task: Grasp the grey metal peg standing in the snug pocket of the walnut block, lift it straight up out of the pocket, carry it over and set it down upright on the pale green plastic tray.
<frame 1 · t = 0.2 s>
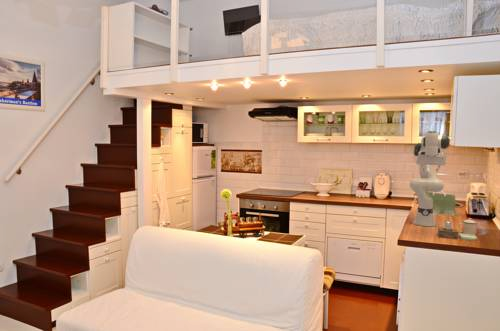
hand: (430, 171, 289), 47 cm above the countertop, fingers open, 8 cm apart
tray: (467, 238, 278), on the countertop
peg: (447, 228, 282), in the pocket block
pocket block: (447, 236, 283), on the countertop
teacup with lid: (467, 233, 294), on the countertop
grocery bag: (437, 213, 376), on the countertop
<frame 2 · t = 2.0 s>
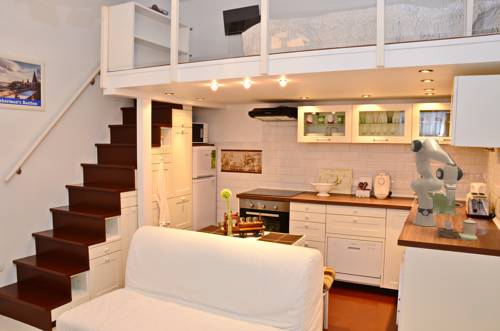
hand: (449, 204, 281), 24 cm above the countertop, fingers open, 8 cm apart
nothing on the countertop moved.
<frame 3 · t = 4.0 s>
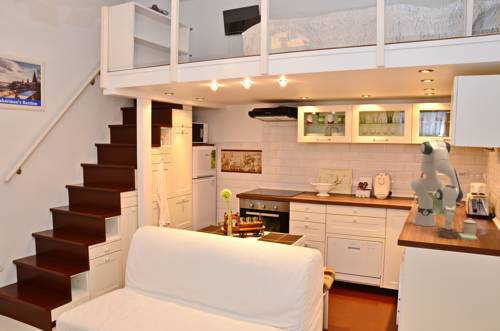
hand: (448, 226, 282), 8 cm above the countertop, fingers closed on peg, 4 cm apart
peg: (448, 228, 282), in the pocket block, touching gripper
everything else where it was.
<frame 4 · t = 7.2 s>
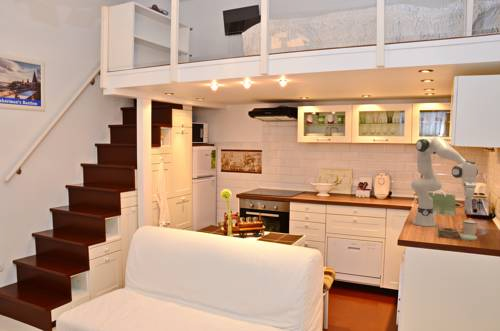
hand: (468, 203, 276), 26 cm above the countertop, fingers closed on peg, 4 cm apart
peg: (468, 205, 276), point 24 cm above the countertop, touching gripper
everything else where it was.
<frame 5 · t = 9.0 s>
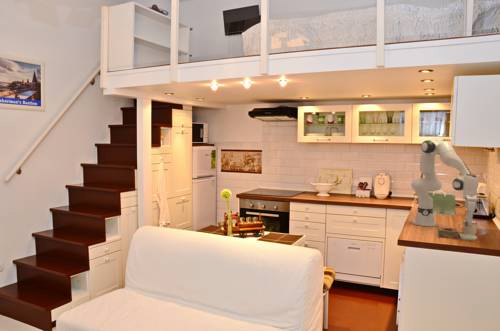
hand: (469, 215, 277), 16 cm above the countertop, fingers closed on peg, 4 cm apart
peg: (468, 218, 277), point 14 cm above the countertop, touching gripper
everything else where it was.
when the fingers open (10 cm above the countertop, at t = 10.6 s): peg drops 1 cm, resting on tray.
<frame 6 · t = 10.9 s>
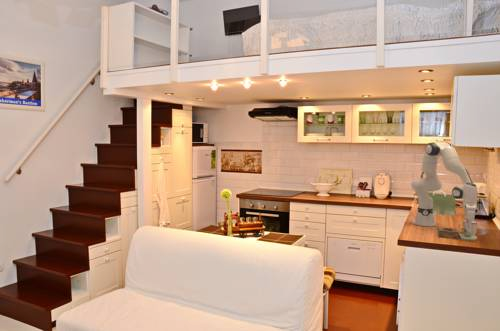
hand: (468, 224, 277), 10 cm above the countertop, fingers open, 8 cm apart
peg: (468, 229, 277), in the tray, point 6 cm above the countertop
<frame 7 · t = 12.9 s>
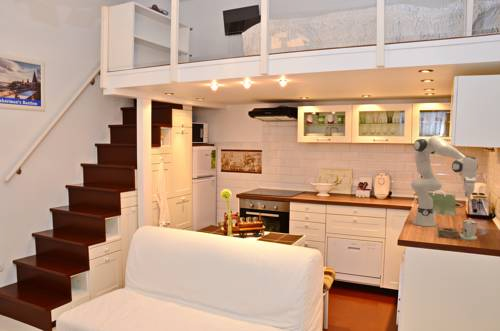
hand: (467, 197, 277), 29 cm above the countertop, fingers open, 8 cm apart
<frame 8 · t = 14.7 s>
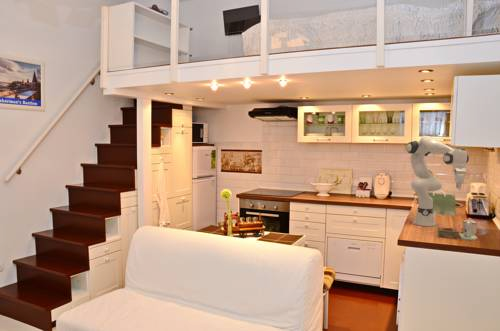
hand: (458, 188, 283), 35 cm above the countertop, fingers open, 8 cm apart
at the end: peg inside the target area on the tray (0.1 cm from its centre), point 6.5 cm above the tray's base; peg tilted 0°; the gripper is holding nothing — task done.
